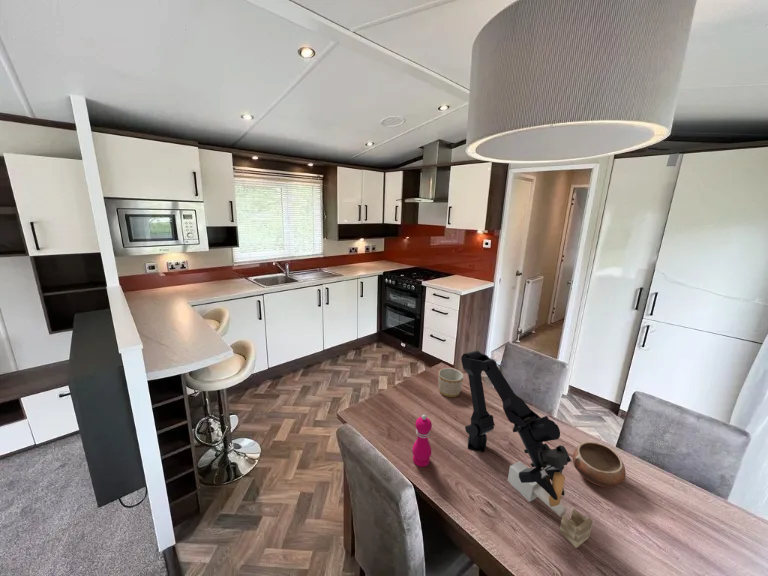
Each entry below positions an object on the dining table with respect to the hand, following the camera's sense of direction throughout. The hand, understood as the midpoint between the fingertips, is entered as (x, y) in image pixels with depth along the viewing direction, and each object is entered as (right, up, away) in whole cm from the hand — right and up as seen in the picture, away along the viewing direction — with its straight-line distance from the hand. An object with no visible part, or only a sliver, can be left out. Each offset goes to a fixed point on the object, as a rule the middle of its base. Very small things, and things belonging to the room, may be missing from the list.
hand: (559, 497), depth 94 cm
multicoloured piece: (-3, -4, +7) cm, 8 cm away
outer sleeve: (-6, -5, +12) cm, 14 cm away
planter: (-20, +9, +68) cm, 71 cm away
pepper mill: (-40, -2, +23) cm, 46 cm away
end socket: (+2, -9, -3) cm, 10 cm away
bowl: (+23, -5, +18) cm, 30 cm away
